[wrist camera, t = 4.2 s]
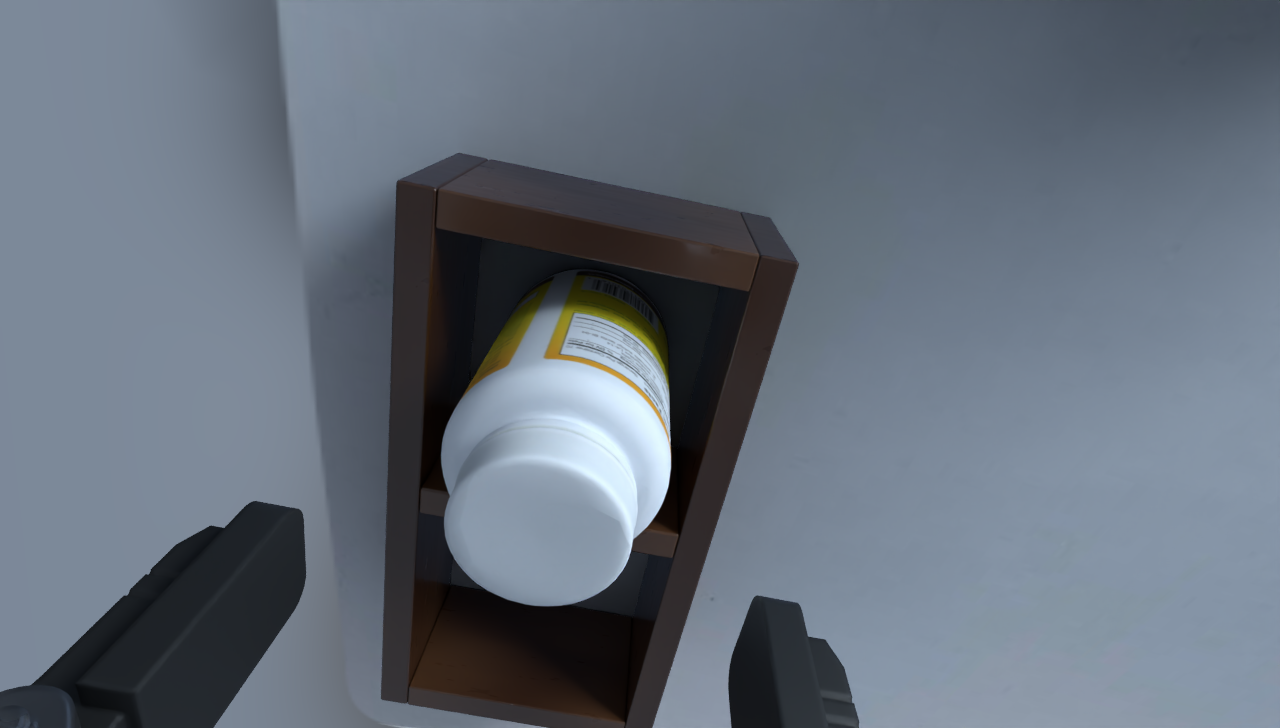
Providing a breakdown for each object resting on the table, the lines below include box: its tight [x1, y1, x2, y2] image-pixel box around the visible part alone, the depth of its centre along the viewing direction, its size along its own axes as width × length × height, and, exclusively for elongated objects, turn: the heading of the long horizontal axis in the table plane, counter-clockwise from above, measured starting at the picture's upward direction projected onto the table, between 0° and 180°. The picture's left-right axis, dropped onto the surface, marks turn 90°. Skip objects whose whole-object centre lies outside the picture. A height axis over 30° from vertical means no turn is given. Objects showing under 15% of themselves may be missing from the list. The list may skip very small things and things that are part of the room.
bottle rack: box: [381, 153, 799, 728], centre depth 22 cm, size 10×19×5 cm, turn 169°
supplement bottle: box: [441, 269, 671, 606], centre depth 18 cm, size 6×6×10 cm
